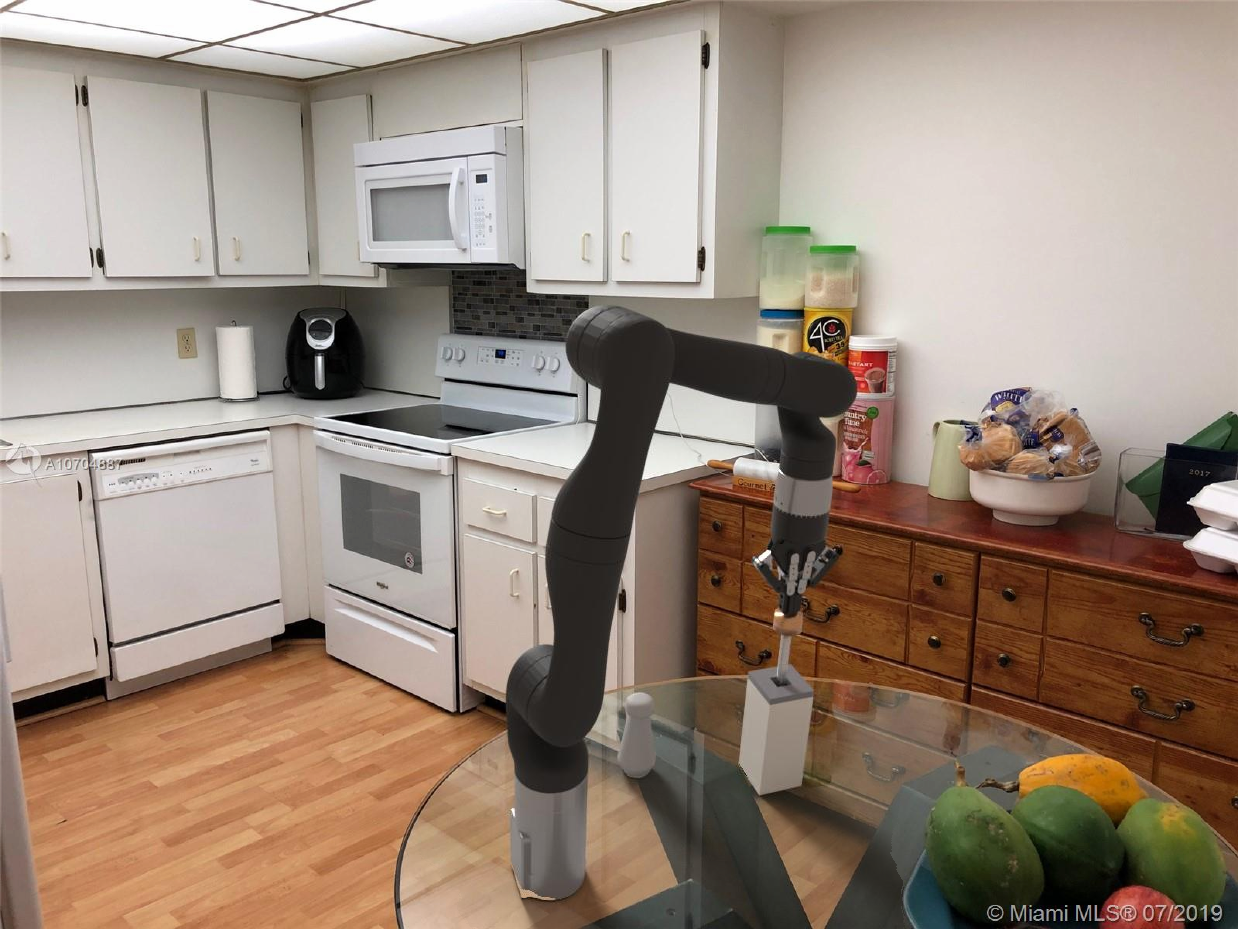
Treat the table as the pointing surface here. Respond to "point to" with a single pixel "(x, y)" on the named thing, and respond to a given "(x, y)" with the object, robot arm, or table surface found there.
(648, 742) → the salt shaker
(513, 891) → the table surface
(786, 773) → the press canister
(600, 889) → the table surface
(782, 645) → the plunger
